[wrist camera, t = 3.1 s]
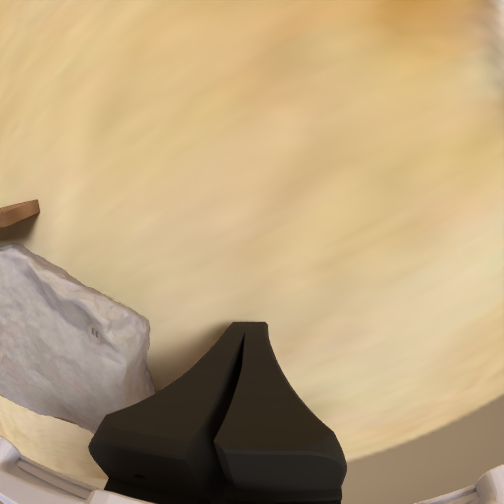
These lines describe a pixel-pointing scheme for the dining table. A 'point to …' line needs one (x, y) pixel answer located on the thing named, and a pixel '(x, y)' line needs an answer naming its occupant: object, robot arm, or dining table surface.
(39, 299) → the stone block
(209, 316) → the dining table surface
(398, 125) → the dining table surface
